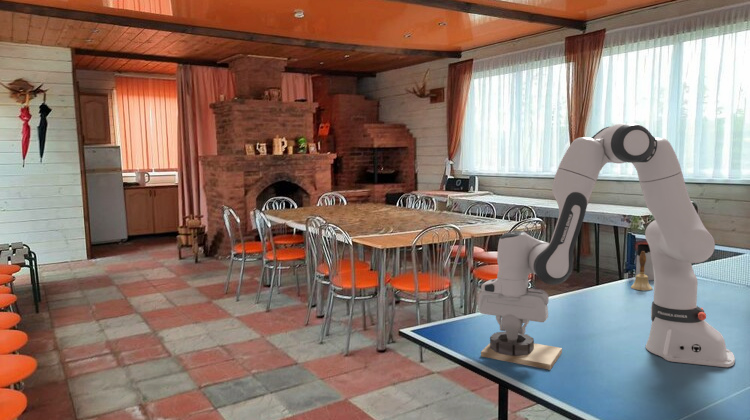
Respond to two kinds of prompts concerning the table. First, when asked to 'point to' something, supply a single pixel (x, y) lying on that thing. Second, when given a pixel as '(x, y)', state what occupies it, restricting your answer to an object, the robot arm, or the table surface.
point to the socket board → (532, 359)
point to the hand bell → (642, 276)
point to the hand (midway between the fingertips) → (512, 331)
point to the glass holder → (648, 265)
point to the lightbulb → (512, 327)
